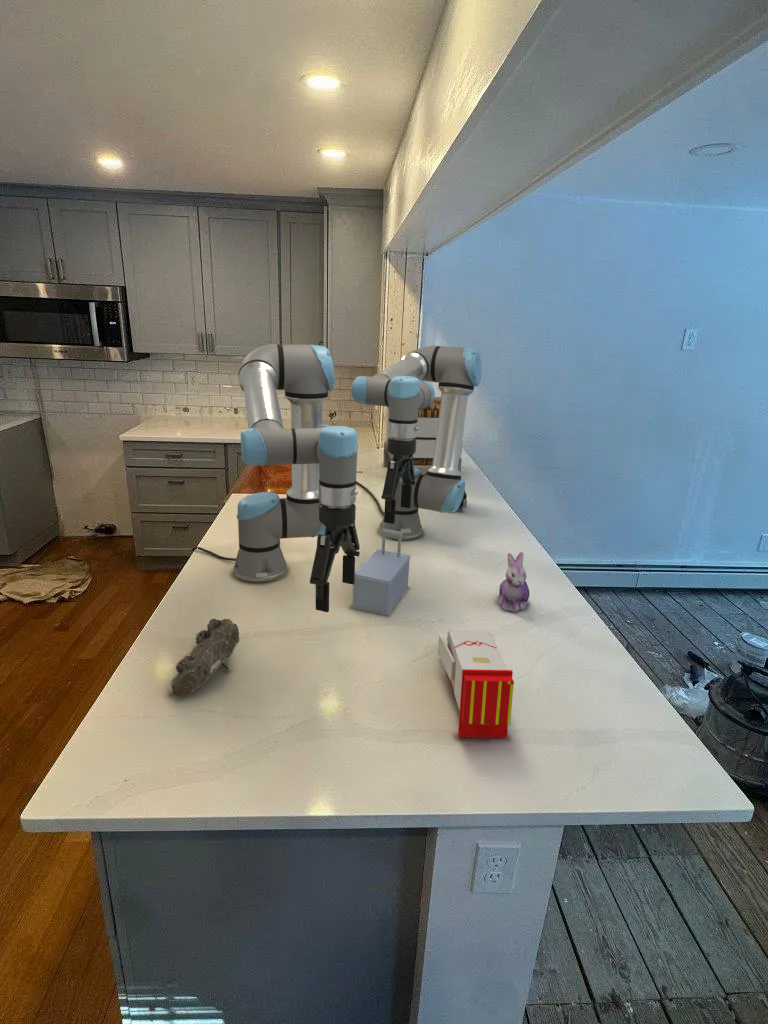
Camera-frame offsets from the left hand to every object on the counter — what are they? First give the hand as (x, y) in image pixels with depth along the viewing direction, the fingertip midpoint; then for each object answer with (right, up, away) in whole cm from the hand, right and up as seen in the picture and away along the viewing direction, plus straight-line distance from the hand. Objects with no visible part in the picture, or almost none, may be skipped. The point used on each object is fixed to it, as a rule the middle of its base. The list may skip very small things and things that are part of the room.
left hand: (336, 596), depth 123 cm
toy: (+28, -19, -4) cm, 35 cm away
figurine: (+46, -7, +32) cm, 56 cm away
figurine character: (+40, +20, +106) cm, 115 cm away
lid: (+10, +3, +30) cm, 32 cm away
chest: (+10, -5, +33) cm, 34 cm away
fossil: (-27, -15, 0) cm, 31 cm away
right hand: (+14, +18, +31) cm, 39 cm away
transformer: (+28, +37, +152) cm, 159 cm away
